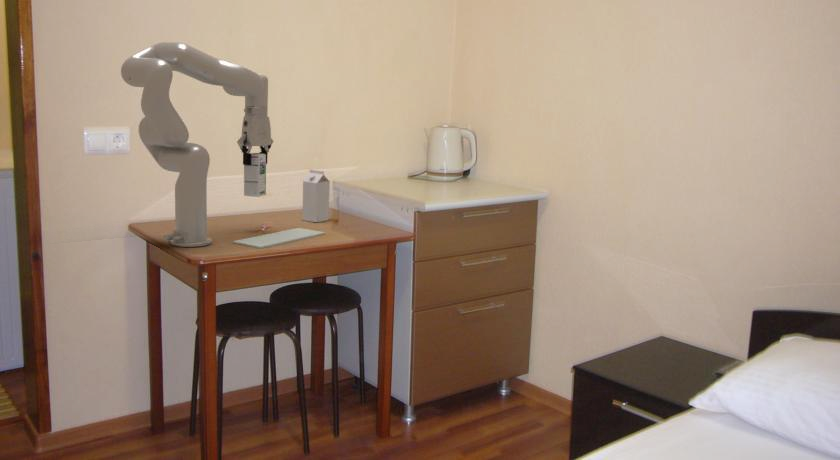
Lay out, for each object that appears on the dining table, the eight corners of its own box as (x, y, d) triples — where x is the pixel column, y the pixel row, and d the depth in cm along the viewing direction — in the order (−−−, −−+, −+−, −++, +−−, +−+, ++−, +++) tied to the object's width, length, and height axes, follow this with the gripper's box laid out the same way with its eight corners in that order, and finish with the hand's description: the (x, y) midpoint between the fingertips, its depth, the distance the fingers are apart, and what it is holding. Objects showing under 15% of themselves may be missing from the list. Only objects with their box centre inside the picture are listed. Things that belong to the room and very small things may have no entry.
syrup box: (259, 197, 263) (260, 154, 260) (243, 195, 264) (243, 153, 262) (265, 195, 268) (266, 153, 266) (250, 194, 270) (250, 152, 267)
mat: (260, 248, 242) (260, 246, 242) (232, 243, 248) (232, 241, 248) (325, 234, 269) (325, 232, 268) (298, 229, 275) (298, 227, 275)
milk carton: (315, 218, 298) (316, 169, 295) (329, 220, 294) (330, 171, 291) (302, 220, 293) (303, 170, 289) (316, 222, 288) (317, 172, 285)
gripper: (245, 112, 252) (245, 166, 255) (282, 112, 267) (280, 164, 270) (229, 111, 256) (228, 164, 259) (265, 111, 271) (264, 162, 274)
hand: (255, 164), depth 264 cm, fingers closed on syrup box, 7 cm apart
